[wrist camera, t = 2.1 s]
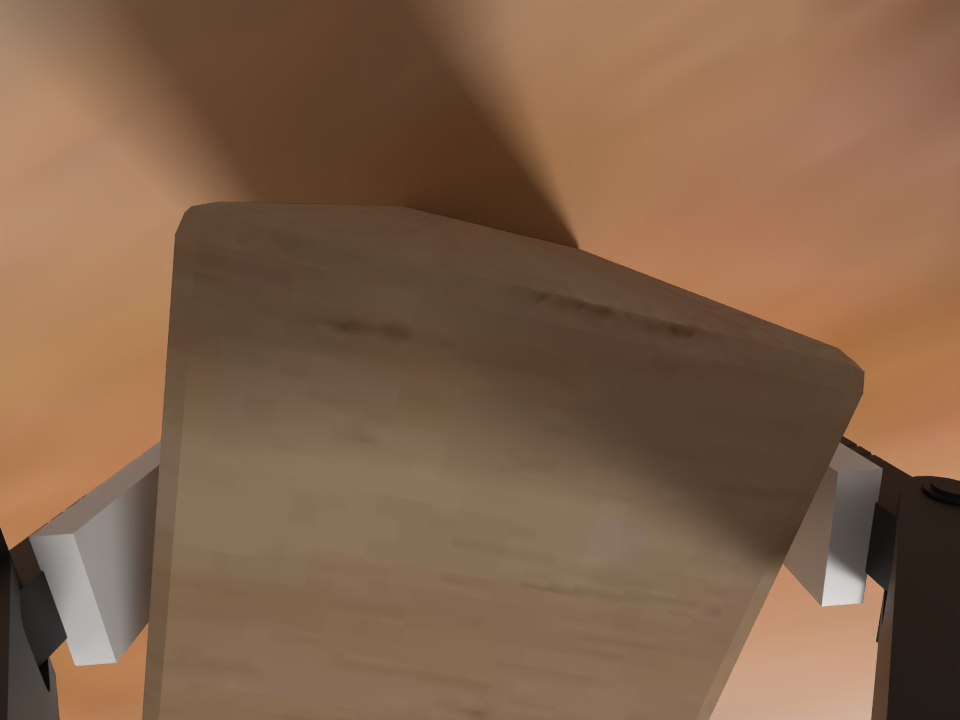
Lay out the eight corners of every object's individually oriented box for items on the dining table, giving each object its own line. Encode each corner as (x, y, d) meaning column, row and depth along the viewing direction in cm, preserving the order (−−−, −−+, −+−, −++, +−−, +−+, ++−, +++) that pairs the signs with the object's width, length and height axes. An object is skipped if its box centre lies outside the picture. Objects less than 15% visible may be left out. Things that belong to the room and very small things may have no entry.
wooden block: (535, 426, 29) (661, 850, 10) (359, 388, 28) (125, 772, 9) (586, 250, 26) (895, 365, 7) (393, 203, 26) (159, 191, 6)
